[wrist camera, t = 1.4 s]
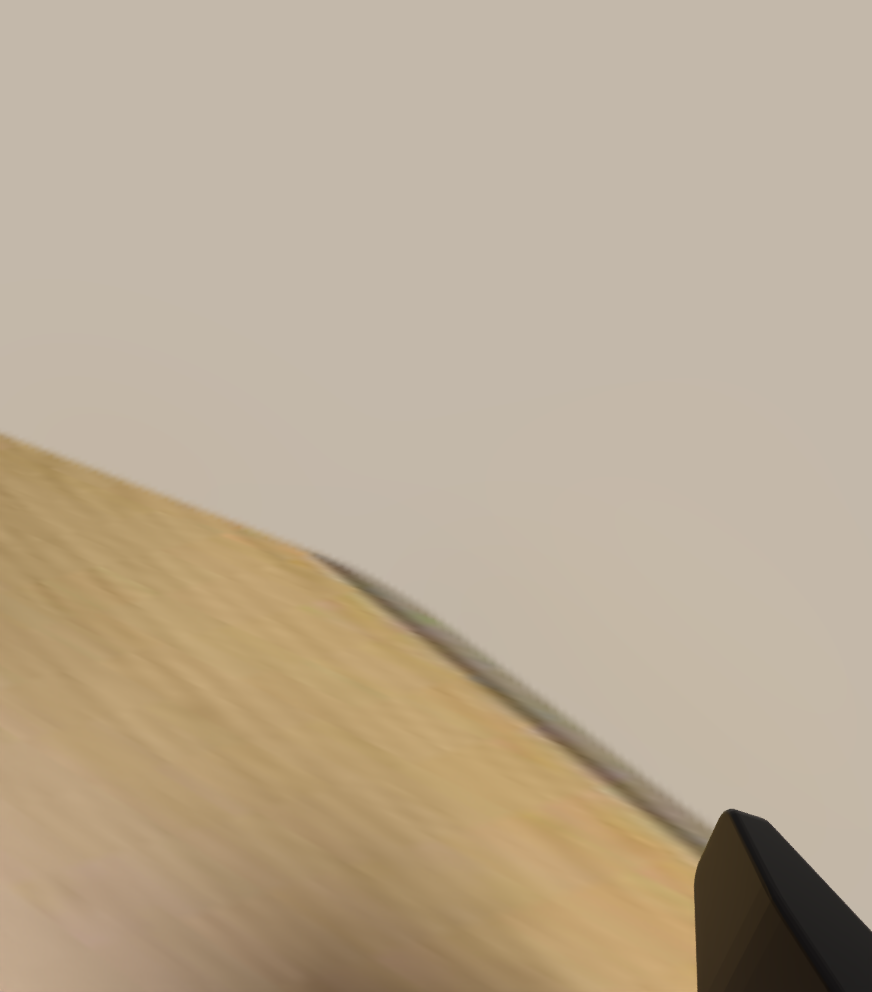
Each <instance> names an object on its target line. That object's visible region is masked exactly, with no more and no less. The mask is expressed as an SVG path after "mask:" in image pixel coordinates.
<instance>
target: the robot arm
mask: <svg viewBox="0 0 872 992" xmlns="http://www.w3.org/2000/svg"><path fill="white" fill-rule="evenodd" d="M694 903H695V933H696V962H697V992H872V931H871V930H870V929H869V928H868V927H867V926H866V925H865V924H864V923H863V922H862V921H861V920H860V919H859V918H858V916H857V915H856V914H855V913H854V912H853V911H852V910H851V909H850V908H849V907H848V906H847V905H846V904H845V902H844V901H843V900H842V899H841V898H840V897H839V896H838V895H837V894H836V893H835V892H834V891H833V890H832V889H831V888H830V887H829V885H828V884H827V883H826V882H825V881H824V880H823V879H822V878H821V877H820V876H819V875H818V874H817V873H816V872H815V871H814V869H813V868H812V867H811V866H810V865H809V864H808V863H807V862H806V861H805V860H804V859H803V858H802V857H801V856H800V855H799V854H798V852H797V851H796V850H794V848H793V847H792V846H791V845H790V844H789V843H788V842H787V841H786V840H785V839H784V838H783V836H781V834H780V833H779V832H778V831H777V830H776V829H775V828H774V827H773V826H772V825H771V824H770V823H769V822H768V821H767V820H765V819H763V818H760V817H757V816H754V815H750V814H748V813H745V812H741V811H738V810H735V809H729V810H726V811H724V812H723V814H722V815H721V816H720V818H719V820H718V822H717V824H716V826H715V828H714V830H713V833H712V835H711V837H710V839H709V841H708V843H707V846H706V848H705V850H704V852H703V854H702V856H701V859H700V861H699V863H698V866H697V869H696V874H695V880H694Z"/></svg>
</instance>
